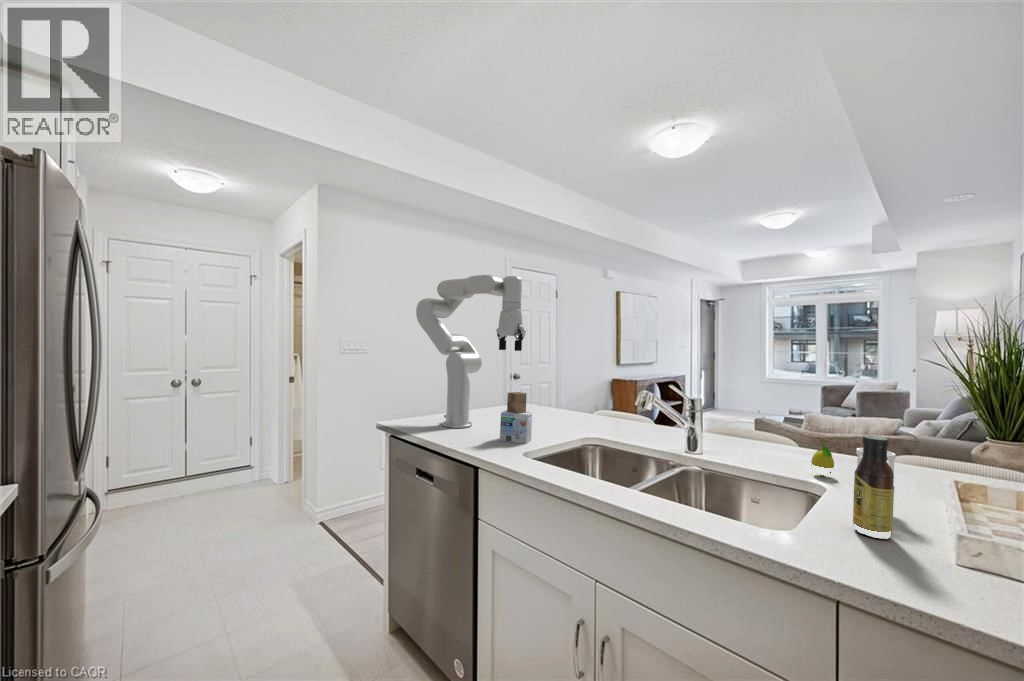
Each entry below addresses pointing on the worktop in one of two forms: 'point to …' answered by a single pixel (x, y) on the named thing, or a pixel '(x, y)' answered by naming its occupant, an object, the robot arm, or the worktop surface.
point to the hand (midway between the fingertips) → (510, 350)
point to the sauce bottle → (874, 487)
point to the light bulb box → (516, 427)
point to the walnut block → (516, 402)
